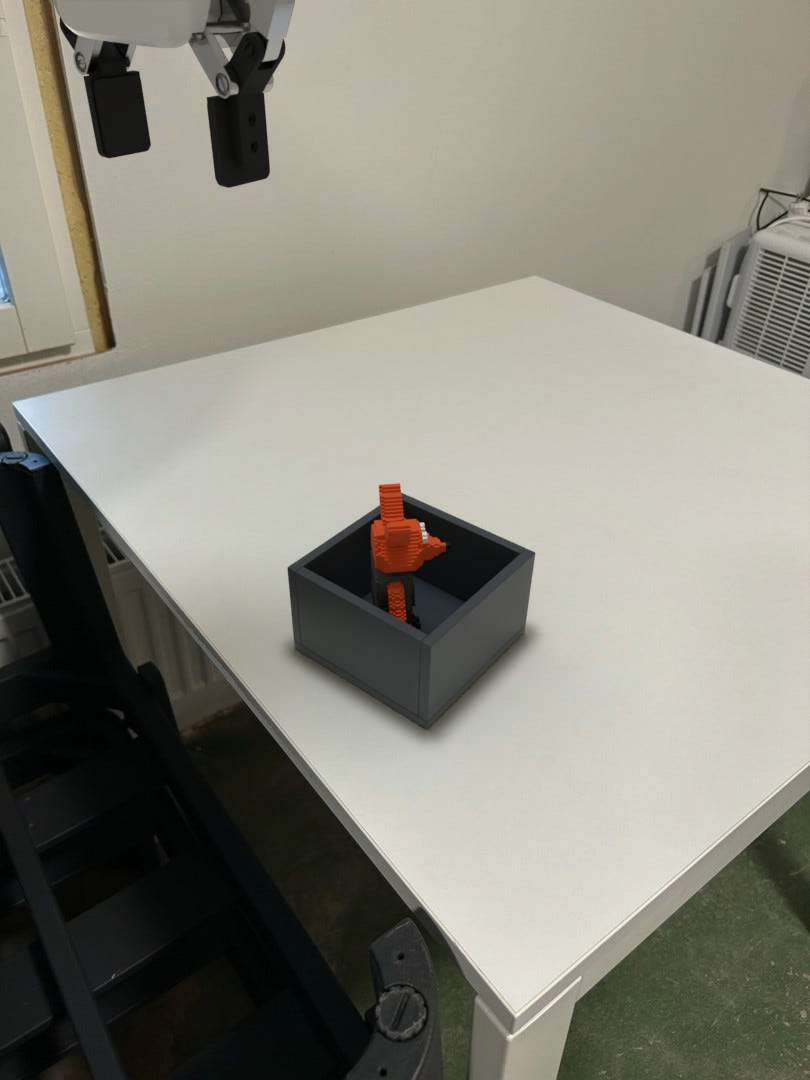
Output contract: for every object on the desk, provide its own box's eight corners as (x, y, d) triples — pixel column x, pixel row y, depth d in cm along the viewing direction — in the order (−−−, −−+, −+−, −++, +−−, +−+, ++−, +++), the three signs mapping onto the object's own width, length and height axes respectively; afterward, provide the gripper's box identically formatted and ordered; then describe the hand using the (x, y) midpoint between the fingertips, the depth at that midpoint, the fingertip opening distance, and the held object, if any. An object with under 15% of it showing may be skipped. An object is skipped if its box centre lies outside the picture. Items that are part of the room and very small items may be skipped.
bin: (294, 648, 62) (286, 567, 58) (398, 568, 70) (399, 491, 66) (427, 730, 56) (430, 646, 51) (525, 632, 64) (535, 552, 59)
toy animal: (455, 669, 60) (465, 535, 52) (380, 676, 59) (380, 541, 52) (436, 597, 66) (442, 469, 59) (368, 603, 65) (366, 474, 58)
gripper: (-73, -269, 36) (28, 155, 46) (185, -324, 27) (239, 211, 38) (77, -244, 41) (139, 135, 51) (337, -284, 32) (348, 181, 42)
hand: (181, 167), depth 44 cm, fingers open, 9 cm apart
